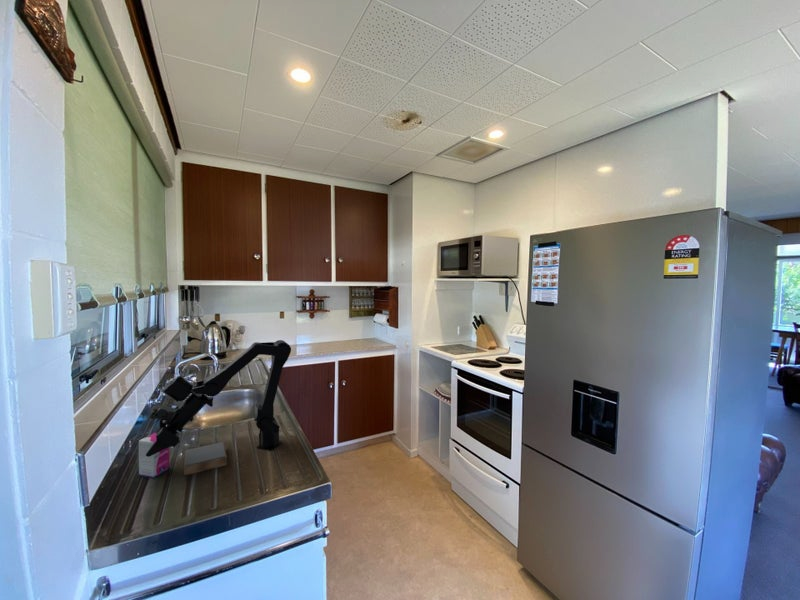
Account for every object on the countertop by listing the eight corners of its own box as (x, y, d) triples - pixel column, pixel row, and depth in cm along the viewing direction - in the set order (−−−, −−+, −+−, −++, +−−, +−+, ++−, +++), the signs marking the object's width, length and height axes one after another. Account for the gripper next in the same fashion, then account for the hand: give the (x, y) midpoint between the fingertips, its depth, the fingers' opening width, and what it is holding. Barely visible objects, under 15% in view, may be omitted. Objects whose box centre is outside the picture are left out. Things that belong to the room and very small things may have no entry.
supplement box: (154, 478, 103) (152, 442, 102) (138, 476, 104) (137, 440, 103) (170, 468, 109) (169, 434, 108) (155, 466, 110) (154, 432, 109)
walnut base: (224, 449, 121) (224, 441, 121) (227, 465, 111) (226, 456, 111) (185, 458, 115) (185, 449, 115) (184, 475, 105) (183, 466, 104)
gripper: (169, 387, 115) (130, 425, 110) (165, 404, 99) (118, 450, 94) (196, 405, 120) (160, 442, 114) (196, 424, 104) (153, 469, 98)
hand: (148, 450), depth 105 cm, fingers closed on supplement box, 8 cm apart
